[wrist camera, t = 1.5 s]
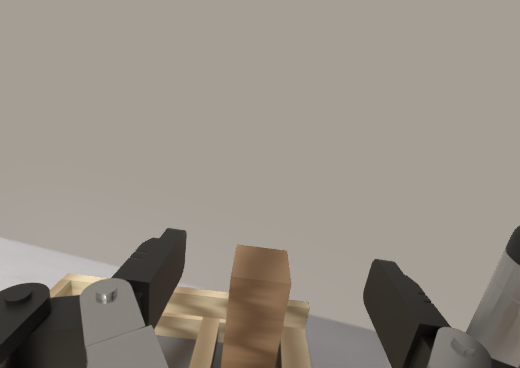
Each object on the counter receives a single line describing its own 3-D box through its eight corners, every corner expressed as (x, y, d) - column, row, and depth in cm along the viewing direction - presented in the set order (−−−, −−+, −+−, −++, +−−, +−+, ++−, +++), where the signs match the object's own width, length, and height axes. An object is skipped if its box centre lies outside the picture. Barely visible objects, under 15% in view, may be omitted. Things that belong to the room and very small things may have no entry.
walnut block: (267, 355, 32) (286, 250, 28) (268, 401, 28) (291, 283, 23) (224, 350, 32) (236, 244, 28) (217, 395, 27) (230, 276, 23)
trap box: (298, 343, 35) (308, 302, 33) (311, 438, 25) (325, 388, 23) (72, 317, 34) (67, 273, 32) (-2, 404, 25) (-15, 350, 23)
